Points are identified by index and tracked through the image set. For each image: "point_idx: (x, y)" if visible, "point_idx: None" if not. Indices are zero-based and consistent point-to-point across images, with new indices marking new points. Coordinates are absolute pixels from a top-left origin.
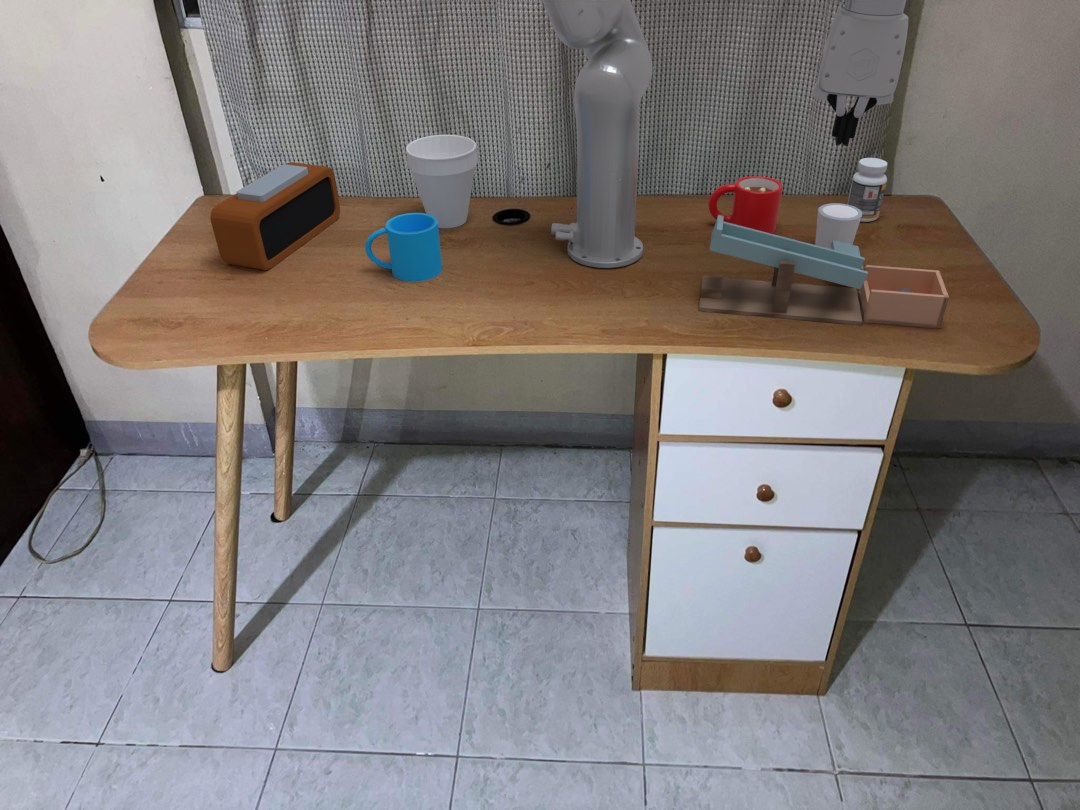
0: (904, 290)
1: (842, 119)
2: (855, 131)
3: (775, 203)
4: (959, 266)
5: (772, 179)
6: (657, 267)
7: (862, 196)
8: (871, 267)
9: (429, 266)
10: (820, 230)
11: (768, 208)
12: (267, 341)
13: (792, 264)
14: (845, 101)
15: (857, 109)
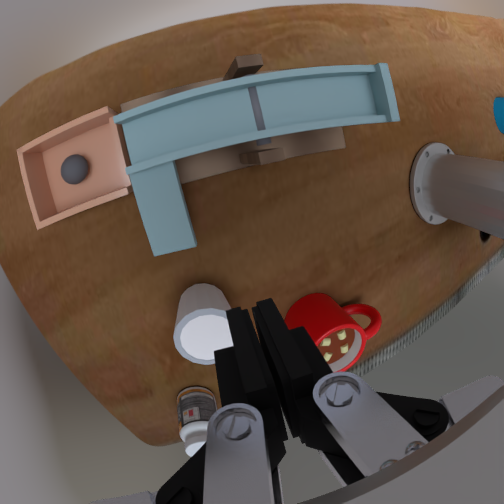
0: (70, 166)
1: (306, 365)
2: (216, 367)
3: None
4: (59, 325)
5: None
6: (391, 163)
7: (199, 408)
8: (118, 190)
9: (501, 102)
10: (226, 303)
11: (310, 323)
12: (497, 28)
13: (240, 56)
14: (353, 445)
15: (250, 439)
